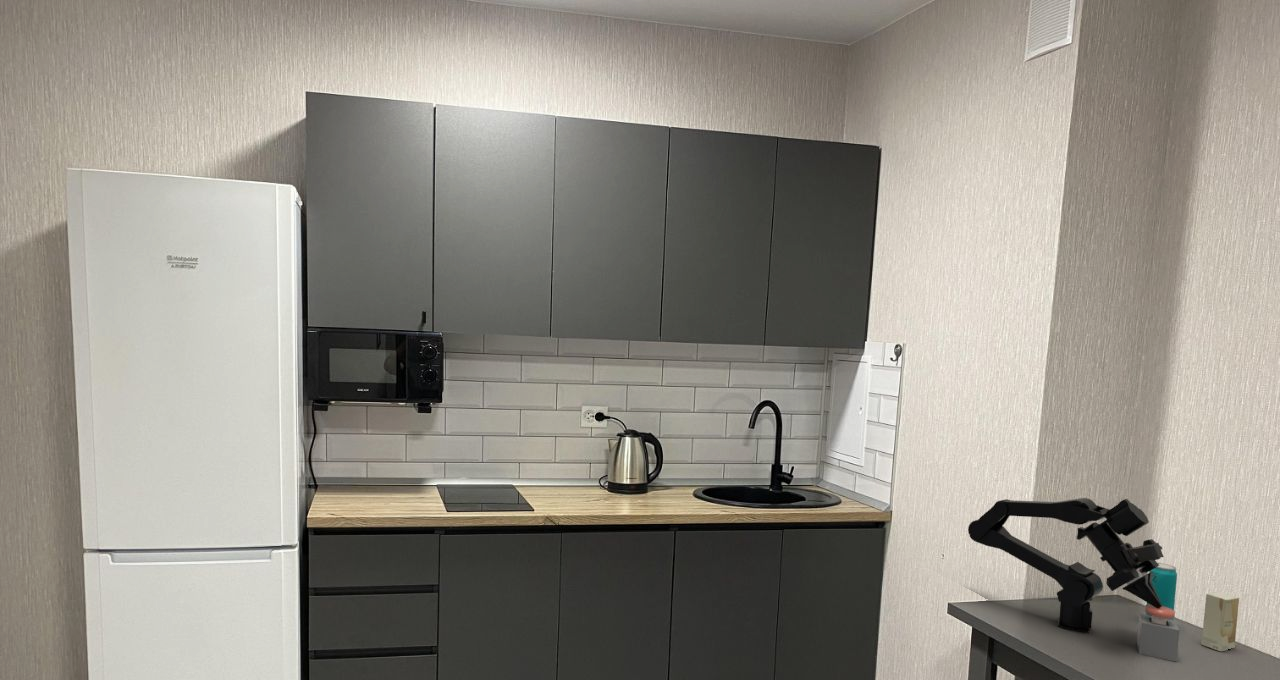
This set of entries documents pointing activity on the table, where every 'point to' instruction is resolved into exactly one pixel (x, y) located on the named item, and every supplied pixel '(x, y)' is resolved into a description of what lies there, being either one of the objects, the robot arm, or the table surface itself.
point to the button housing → (1158, 638)
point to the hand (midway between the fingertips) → (1160, 607)
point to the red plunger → (1159, 614)
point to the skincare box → (1220, 621)
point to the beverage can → (1165, 584)
